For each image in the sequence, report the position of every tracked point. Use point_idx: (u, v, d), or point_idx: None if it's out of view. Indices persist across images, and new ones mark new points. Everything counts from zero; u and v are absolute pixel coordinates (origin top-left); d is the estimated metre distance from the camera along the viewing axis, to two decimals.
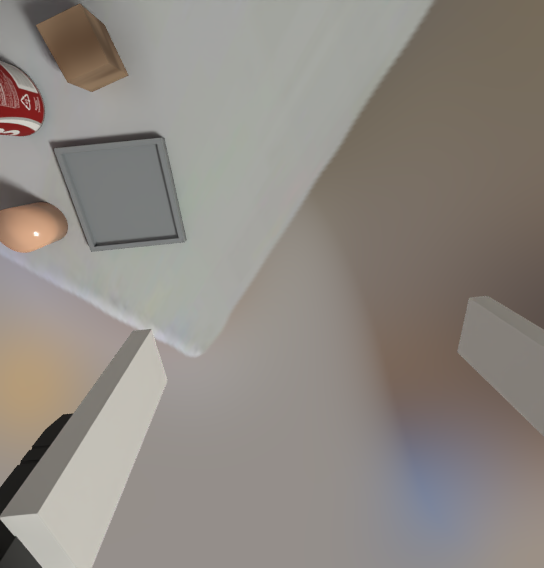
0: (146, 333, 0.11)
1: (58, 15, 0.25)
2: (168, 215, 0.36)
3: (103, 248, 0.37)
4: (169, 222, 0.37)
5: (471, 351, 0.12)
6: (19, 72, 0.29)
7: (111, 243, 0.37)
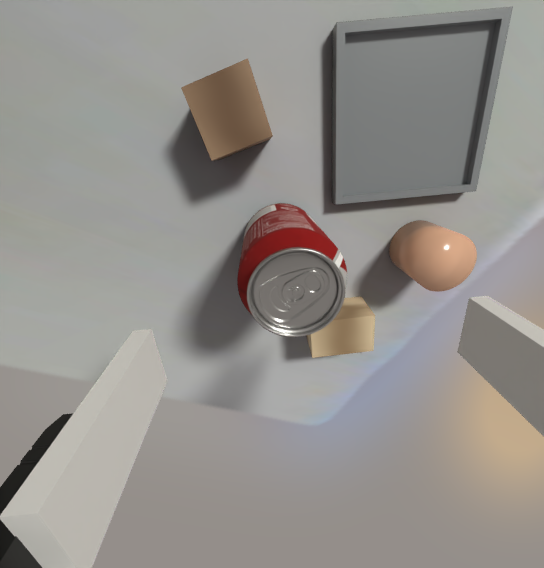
0: (146, 333, 0.11)
1: (198, 124, 0.19)
2: (453, 40, 0.21)
3: (476, 170, 0.24)
4: (465, 40, 0.21)
5: (471, 350, 0.12)
6: (255, 216, 0.24)
7: (470, 158, 0.24)
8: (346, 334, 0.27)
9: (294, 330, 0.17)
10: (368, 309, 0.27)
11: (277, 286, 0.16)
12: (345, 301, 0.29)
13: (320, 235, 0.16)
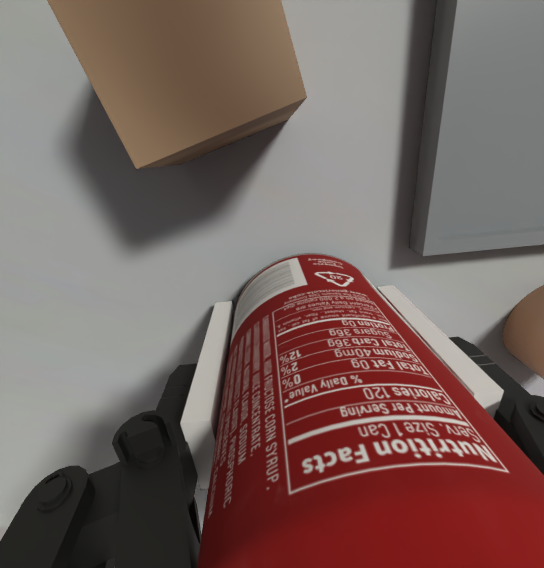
0: (229, 304, 0.13)
1: (84, 62, 0.06)
2: None
3: None
4: None
5: None
6: (256, 283, 0.11)
7: None
8: None
9: None
10: None
11: None
12: None
13: None
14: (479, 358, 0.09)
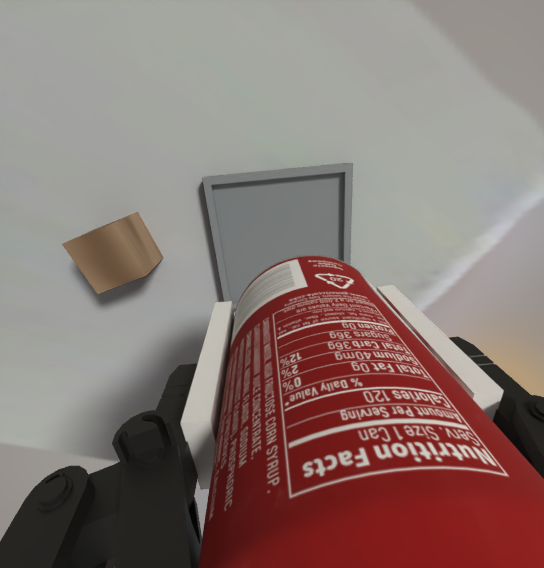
0: (229, 304, 0.13)
1: (81, 269, 0.22)
2: (309, 185, 0.24)
3: None
4: (319, 185, 0.24)
5: None
6: (256, 285, 0.11)
7: None
8: None
9: None
10: None
11: None
12: None
13: None
14: (479, 359, 0.09)
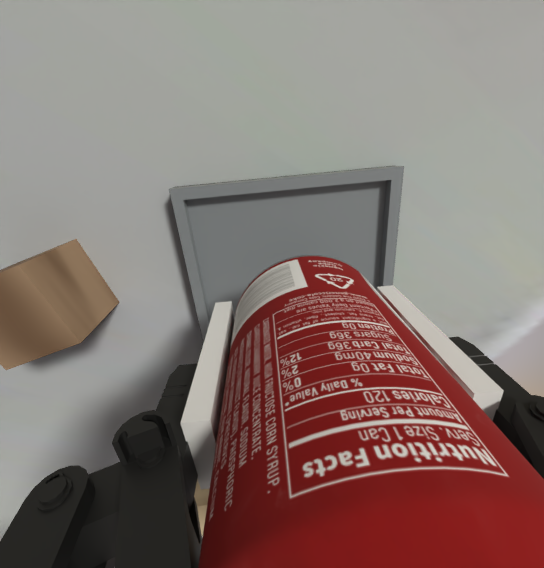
0: (229, 304, 0.13)
1: None
2: (334, 199, 0.16)
3: None
4: (349, 199, 0.16)
5: None
6: (256, 285, 0.11)
7: None
8: None
9: None
10: None
11: None
12: None
13: None
14: (479, 359, 0.09)
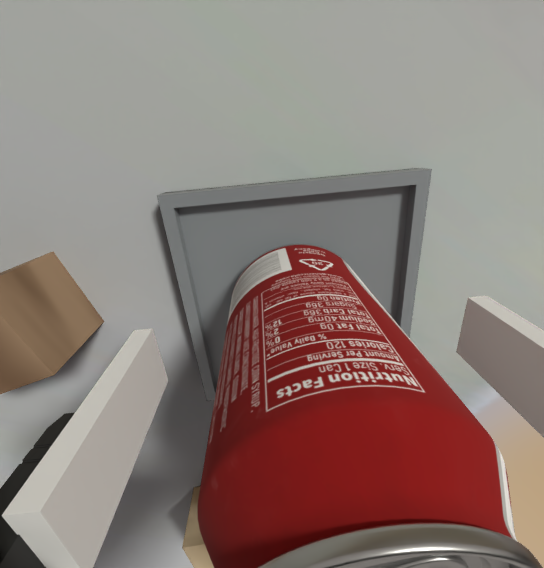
0: (147, 333, 0.11)
1: None
2: (348, 207, 0.14)
3: None
4: (366, 207, 0.14)
5: (470, 350, 0.12)
6: (249, 271, 0.13)
7: None
8: None
9: None
10: None
11: None
12: None
13: (450, 416, 0.05)
14: None
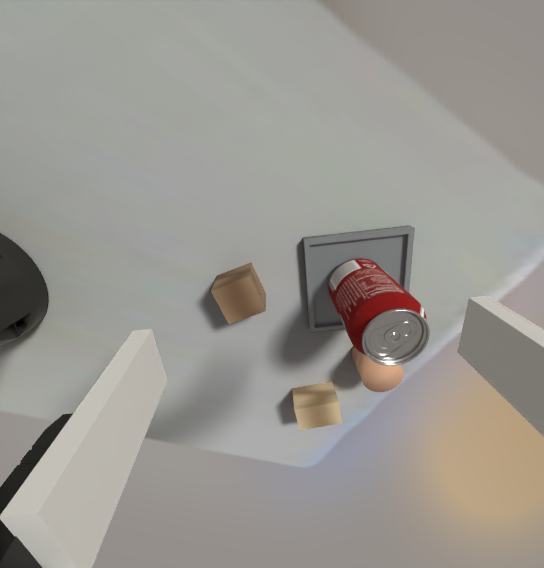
0: (146, 333, 0.11)
1: (220, 307, 0.32)
2: (380, 242, 0.33)
3: None
4: (388, 242, 0.33)
5: (471, 351, 0.12)
6: (340, 269, 0.32)
7: None
8: (320, 414, 0.39)
9: (391, 361, 0.25)
10: (335, 395, 0.39)
11: (381, 332, 0.24)
12: (320, 386, 0.41)
13: (409, 296, 0.24)
14: None
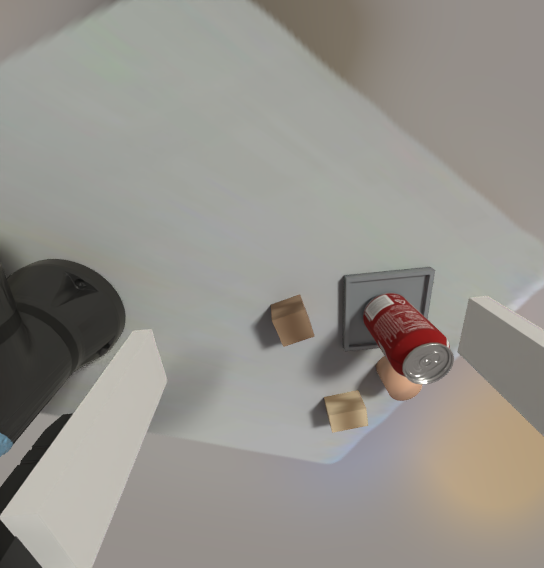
0: (146, 333, 0.11)
1: (278, 333, 0.38)
2: (406, 280, 0.40)
3: None
4: (412, 280, 0.40)
5: (471, 351, 0.12)
6: (375, 302, 0.39)
7: None
8: (350, 419, 0.46)
9: (423, 380, 0.32)
10: (362, 402, 0.47)
11: (417, 359, 0.31)
12: (348, 395, 0.49)
13: (438, 332, 0.32)
14: None
